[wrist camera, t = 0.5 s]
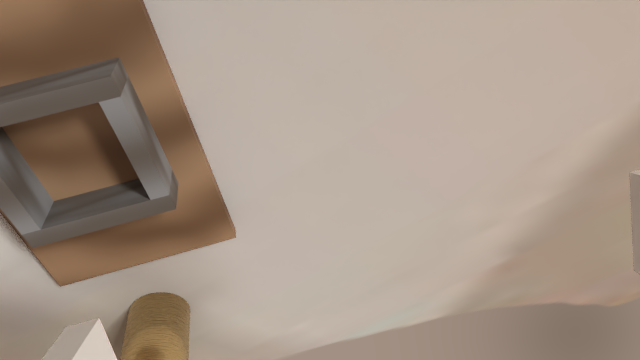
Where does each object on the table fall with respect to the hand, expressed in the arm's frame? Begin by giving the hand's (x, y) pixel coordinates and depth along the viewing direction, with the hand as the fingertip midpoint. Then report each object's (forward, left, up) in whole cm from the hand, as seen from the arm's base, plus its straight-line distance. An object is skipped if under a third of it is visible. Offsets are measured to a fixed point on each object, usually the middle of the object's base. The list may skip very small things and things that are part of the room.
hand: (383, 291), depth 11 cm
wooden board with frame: (+4, -14, -21) cm, 26 cm away
